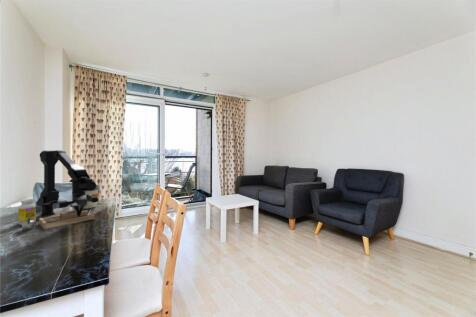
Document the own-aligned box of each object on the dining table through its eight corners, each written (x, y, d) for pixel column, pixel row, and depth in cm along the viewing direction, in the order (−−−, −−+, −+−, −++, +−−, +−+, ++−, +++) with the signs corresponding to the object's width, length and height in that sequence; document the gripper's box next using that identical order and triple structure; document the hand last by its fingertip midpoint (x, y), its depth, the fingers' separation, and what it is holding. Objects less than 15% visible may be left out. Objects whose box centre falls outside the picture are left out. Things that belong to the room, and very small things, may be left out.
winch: (21, 229, 105) (21, 216, 105) (33, 226, 109) (33, 214, 109) (23, 232, 102) (22, 218, 101) (35, 229, 105) (35, 216, 105)
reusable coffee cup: (102, 206, 150) (102, 185, 149) (82, 210, 139) (81, 188, 139) (94, 203, 156) (93, 183, 156) (74, 207, 146) (73, 186, 145)
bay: (39, 223, 114) (39, 218, 114) (87, 214, 131) (87, 209, 131) (44, 229, 105) (44, 223, 105) (94, 218, 123) (94, 213, 122)
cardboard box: (60, 221, 118) (59, 212, 118) (73, 218, 122) (73, 210, 122) (62, 223, 114) (62, 214, 114) (76, 220, 119) (76, 212, 118)
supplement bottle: (24, 225, 110) (24, 201, 110) (15, 224, 111) (14, 201, 111) (39, 221, 117) (38, 198, 116) (30, 220, 118) (29, 198, 117)
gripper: (61, 194, 109) (62, 223, 110) (101, 189, 124) (102, 215, 124) (56, 191, 116) (57, 219, 117) (94, 187, 131) (95, 211, 131)
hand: (79, 216), depth 122 cm, fingers closed
